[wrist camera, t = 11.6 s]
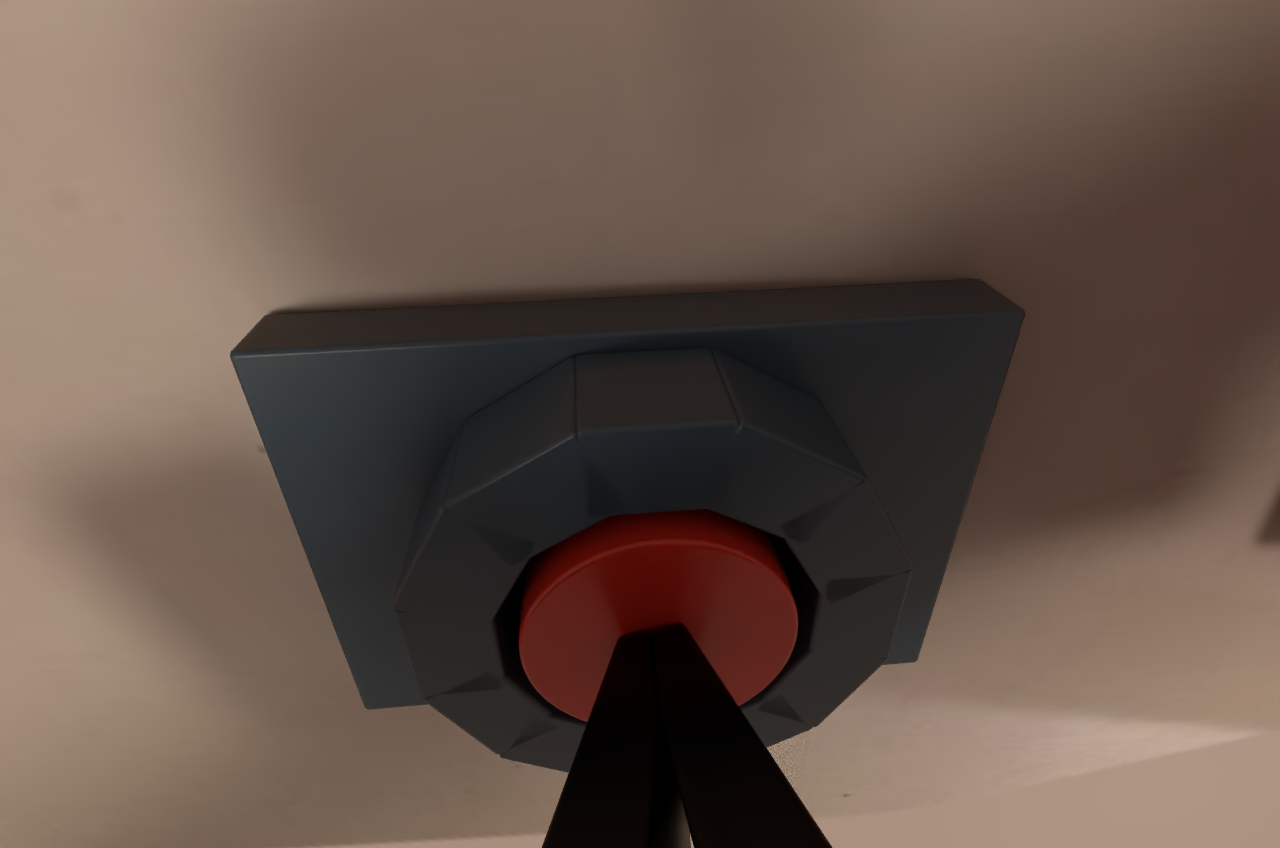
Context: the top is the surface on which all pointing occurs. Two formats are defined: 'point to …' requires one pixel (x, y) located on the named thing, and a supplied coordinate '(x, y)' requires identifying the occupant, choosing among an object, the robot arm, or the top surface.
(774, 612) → the button
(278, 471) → the button box
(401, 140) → the top surface
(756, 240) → the top surface
